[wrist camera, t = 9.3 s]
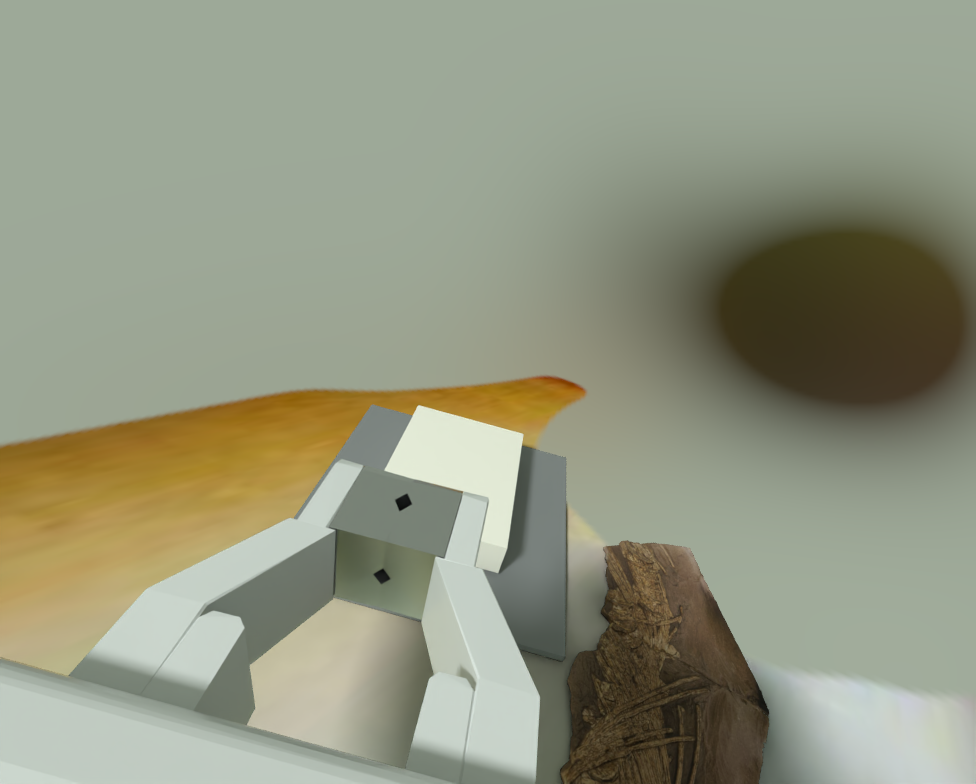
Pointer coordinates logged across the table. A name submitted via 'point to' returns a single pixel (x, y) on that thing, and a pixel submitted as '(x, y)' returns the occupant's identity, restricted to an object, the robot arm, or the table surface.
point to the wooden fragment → (663, 682)
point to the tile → (465, 468)
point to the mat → (532, 538)
